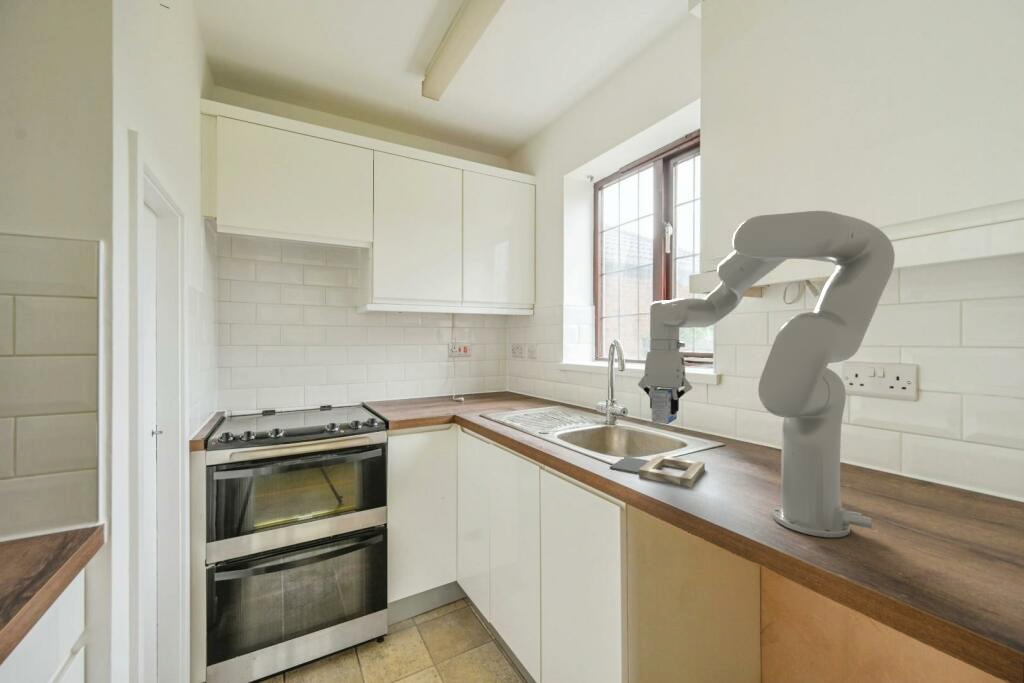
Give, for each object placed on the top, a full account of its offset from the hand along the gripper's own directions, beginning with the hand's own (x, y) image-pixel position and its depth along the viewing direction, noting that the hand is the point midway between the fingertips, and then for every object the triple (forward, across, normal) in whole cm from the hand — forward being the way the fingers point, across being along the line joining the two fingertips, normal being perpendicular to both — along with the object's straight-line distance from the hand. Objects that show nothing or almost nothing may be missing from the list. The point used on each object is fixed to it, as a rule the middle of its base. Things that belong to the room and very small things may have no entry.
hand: (664, 411), depth 114 cm
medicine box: (+3, 0, 0) cm, 3 cm away
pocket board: (+16, -2, 0) cm, 17 cm away
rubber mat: (+17, +9, 0) cm, 19 cm away
